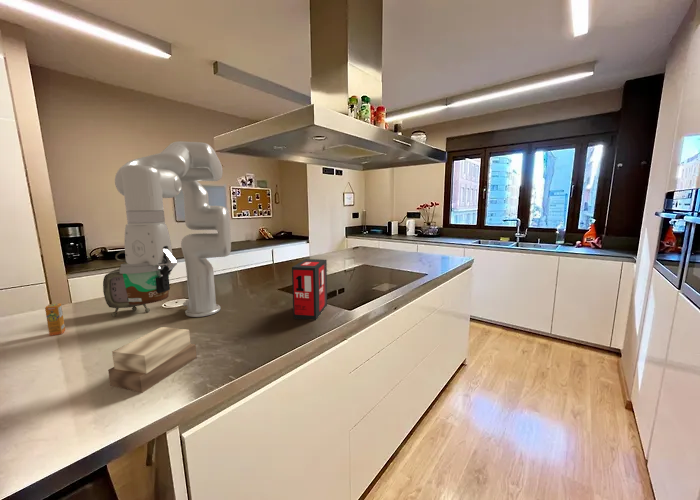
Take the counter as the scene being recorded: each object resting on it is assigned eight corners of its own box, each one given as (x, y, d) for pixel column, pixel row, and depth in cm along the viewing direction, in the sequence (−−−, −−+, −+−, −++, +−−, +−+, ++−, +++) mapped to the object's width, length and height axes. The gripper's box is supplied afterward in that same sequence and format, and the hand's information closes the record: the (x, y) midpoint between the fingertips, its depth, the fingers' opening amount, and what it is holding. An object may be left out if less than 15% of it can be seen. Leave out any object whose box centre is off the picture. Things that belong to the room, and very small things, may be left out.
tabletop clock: (107, 318, 110) (98, 253, 106) (114, 311, 118) (106, 250, 114) (152, 313, 115) (145, 251, 112) (156, 305, 124) (150, 248, 120)
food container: (145, 308, 67) (141, 265, 65) (123, 306, 68) (118, 264, 66) (185, 293, 78) (182, 257, 77) (165, 291, 80) (162, 256, 78)
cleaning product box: (307, 304, 126) (306, 259, 123) (327, 305, 124) (326, 259, 121) (293, 318, 110) (291, 267, 107) (316, 320, 108) (315, 268, 105)
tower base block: (110, 387, 69) (108, 369, 68) (168, 354, 84) (167, 339, 84) (142, 394, 66) (140, 376, 66) (196, 359, 82) (195, 344, 81)
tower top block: (114, 369, 69) (112, 351, 68) (162, 341, 82) (161, 326, 82) (146, 373, 67) (144, 355, 66) (190, 344, 81) (189, 329, 80)
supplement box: (48, 336, 95) (43, 307, 93) (53, 332, 98) (48, 304, 96) (62, 334, 96) (57, 305, 95) (66, 330, 99) (61, 302, 98)
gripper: (103, 218, 69) (113, 292, 72) (160, 219, 64) (168, 298, 67) (134, 217, 76) (141, 284, 79) (187, 218, 72) (193, 289, 74)
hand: (154, 289), depth 73 cm, fingers closed on food container, 5 cm apart
